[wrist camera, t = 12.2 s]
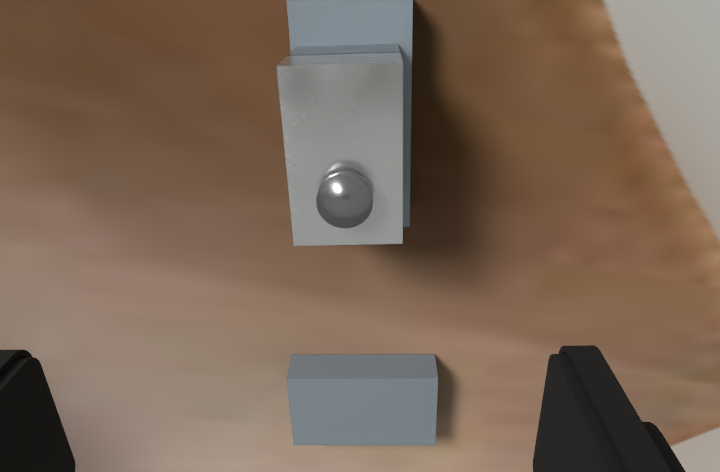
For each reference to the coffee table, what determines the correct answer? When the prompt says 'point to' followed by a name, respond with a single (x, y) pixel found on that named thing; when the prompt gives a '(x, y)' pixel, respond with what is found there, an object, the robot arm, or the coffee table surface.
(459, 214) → the coffee table surface
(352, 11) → the stand
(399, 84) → the block
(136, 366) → the coffee table surface
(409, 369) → the stand
